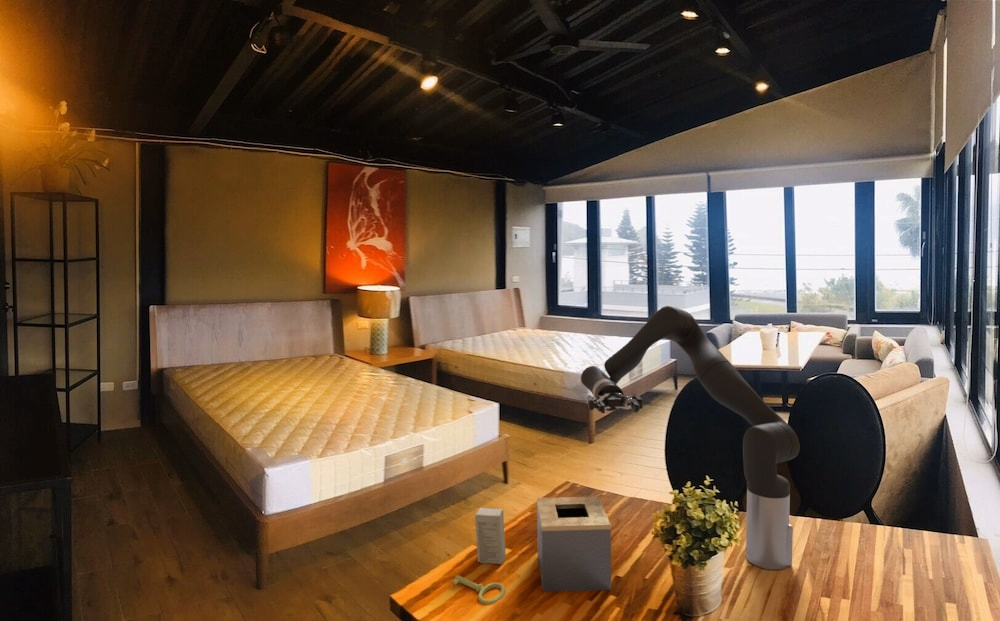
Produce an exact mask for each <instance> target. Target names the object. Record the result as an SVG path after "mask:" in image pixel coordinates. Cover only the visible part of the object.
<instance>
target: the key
mask: <svg viewBox="0 0 1000 621" xmlns="http://www.w3.org/2000/svg"><path fill="white" fill-rule="evenodd" d="M459 583H461V584H462V585H465V586H468V587H470V588H471V589H473V590H475V589H476V592H477V593H478V597H477V598H478V601H479V603H481V602H482V603H481V604H483V603H492V604H494V602H495V603H497V602H498V600H499V601H500V600H501V599H502V598H503V597H504V596H505V595H506V589H505V588H506V587H505V586H504V584H502V583H500V582H490V583H489V584H488V583H487V584H486V585H485V586H484V585H483V584H482V583H479V584H478V583H476V582H474V581H471V580H469V579H467V578H465V577H464V576H461V575H459V574H456V575H455V578H454V579H453V580H452V581H451V584H454V585H457V584H459ZM494 587H496V589H500V593H499V594H498V595H497V596H495V597H493V598H490V599H487V598H486V599H485V598H484V597H483V596H484V594H485V593H487V592H488V591H489V589H490V590H492V589H495V588H494ZM491 588H492V589H491ZM487 590H488V591H487ZM479 591H480V592H479ZM486 591H487V592H486ZM482 595H483V596H482Z"/></svg>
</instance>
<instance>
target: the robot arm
mask: <svg viewBox="0 0 1000 621" xmlns="http://www.w3.org/2000/svg"><path fill="white" fill-rule="evenodd" d="M662 339H667V340H670V341H673V342H675V343H676V344H678V346H679V347H680V348H681V349H682V350H683V351H684V352H685V353H686V354H687V356H688V357H689V358H690V361H691V362H692V363H691V364H692V366H693V370H694V373H695V376H696V378H697V380H698V381H699V383H700V385H702V387H703V388H704V389H705V390H706V392H707V393H708V395H709V396H711V398H712V399H714V400H715V401H716V402H717V403H719V404H720V405H722V406H724V407H726V408H727V409H728V410H731V411H732V412H734V413H736V414H738V415H739V416H741V417H742V418H743V419H744V420H746V421H747V422H748V423H749V424H750V425H751V426H750V427H748V428H747V429H746V430H745V432H744V435H743V438H742V456H743V457H742V460H743V474H744V477H745V481H746V523H745V525H746V527H745V528H746V530H745V532H746V534H745V537H746V538H745V542H746V543H745V558H746V560H747V561H748V562H750V564H752V565H754V566H756V567H758V568H761V569H765V570H771V571H774V570H783V569H786V568H787V567H790V566H791V567H792V565H793V543H794V542H793V540H794V539H793V537H794V535H793V534H794V527H793V525H792V524H790V508H791V507H790V500H791V498H790V497H791V484H790V481H789V480H788V479H787V478H786V477H784V476H782V475H779V474H777V472H778V471H777V470H778V469H777V464H780V463H783V462H788V461H791V460H793V459H795V458H796V457H798V455H799V453H800V447H801V446H800V441H799V438H798V436H797V434H796V432H795V431H794V429H793V428H792V427H791V425H790V424H789V423H787V422H786V421H785V420H784V419H783V418H782V417H781V416H780V415H779V414H778V413H777V412H775V410H774V409H773V408H771V406H769V405H768V403H766V402H765V401H764V400H763V398H761V396H760V395H759V394H758V393H757V392H756V391H755V389H753V387H751V385H750V384H749V383H748V382H747V381H746V379H744V377H743V376H742V375H741V373H740V372H739V370H737V369H736V367H735V366H734V365H733V364H732V363H731V362H730V361H729V359H727V358H726V356H725V355H724V354H723V353H722V352H721V350H719V349H718V347H716V345H714V344H713V342H711V340H710V339H709V338H708V336H707V335H706V334H705V332H704V331H703V329H702V328H701V327H700V324H699V323H698V321H697V320H696V318H694V316H693V315H692V313H690V312H688V311H686V310H683V309H681V308H678V307H677V306H672V305H665V306H663V307H661V308H660V309H657V311H655V313H653V315H652V316H651V317H650V318H649V319H648V320H647V322H645V324H644V325H643V326H642V327H641V328H640V329H639V331H638V332H637V333H636V334H635V335H634V336H633V337H632V338H631V339H630V340H629V341H628V342H627V343H626V344H624V346H623V347H621V348H620V349H619V350H617V351H616V352H615V353H614V354H612V355H611V356H610V357H609V358H607V359H606V361H604V365H603V366H604V369H605V372H606V373H607V374H608V375H607V374H606V373H605V372H604V371H603V370H602V369H601V368H599V367H598V366H595V365H590V366H588V367H586V368H585V369H584V370H583V371H582V373H581V376H580V381H581V384H582V385H584V387H585V388H587V389H588V390H589V391H590V392H591V394H592V395H586V398H587V401H586V405H587V407H588V410H590V411H593V410H594V409H596V411H598V412H600V413H601V414H605V411H607V412H613V411H616V410H618V409H623V410H629V409H631V410H632V411H633V413H638V412H639V411H640V409H643V408H644V407H643V398H642V397H641V396H639V395H638V394H636V393H633V394H632V396H630V395H625V394H624V392H623V389H621V388H620V387H619V385H618V383H619V382H620V380H621V379H623V377H625V376H626V375H628V374H629V373H630V372H631V371H633V370H634V369H635V368H637V367H638V365H640V363H641V362H642V360H643V358H644V356H645V355H646V353H647V351H648V350H649V348H650V347H651V346H653V345H654V344H655V343H657V342H659V341H661V340H662Z"/></svg>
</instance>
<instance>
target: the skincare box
mask: <svg viewBox="0 0 1000 621" xmlns="http://www.w3.org/2000/svg"><path fill="white" fill-rule="evenodd" d="M474 517H475V518H474V519H475V534H476V536H475V539H476V553H477V554H476V556H477V563H479V562H480V564H491V565H492V564H493V565H502V564H503V562H504V561H505V558H506V541H505V540H506V539H505V522H504V521H505V520H504V509H503V508H497V507H496V508H492V507H479V508H478V510H477V511H476V512H475V514H474Z"/></svg>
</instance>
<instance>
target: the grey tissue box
mask: <svg viewBox="0 0 1000 621" xmlns="http://www.w3.org/2000/svg"><path fill="white" fill-rule="evenodd" d="M536 523H537V524H536V525H537V531H536V532H537V533H536V534H537V559H538V568H539V573H540V580H541V587H542V593H551V592H552V593H553V592H556V593H557V592H560V593H561V592H585V591H587V592H591V591H592V592H593V591H595V592H596V591H612V558H611V557H612V540H611V539H612V537H611V536H612V535H611V533H612V532H611V530H612V528H611V527H612V526H611V522H610V521H609V518H608V515H607V513H606V510H605V508H604V507H603V504H602V501H601V500H600V498H599V495H597V496H570V497H569V496H568V497H566V496H563V497H562V496H560V497H536Z"/></svg>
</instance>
